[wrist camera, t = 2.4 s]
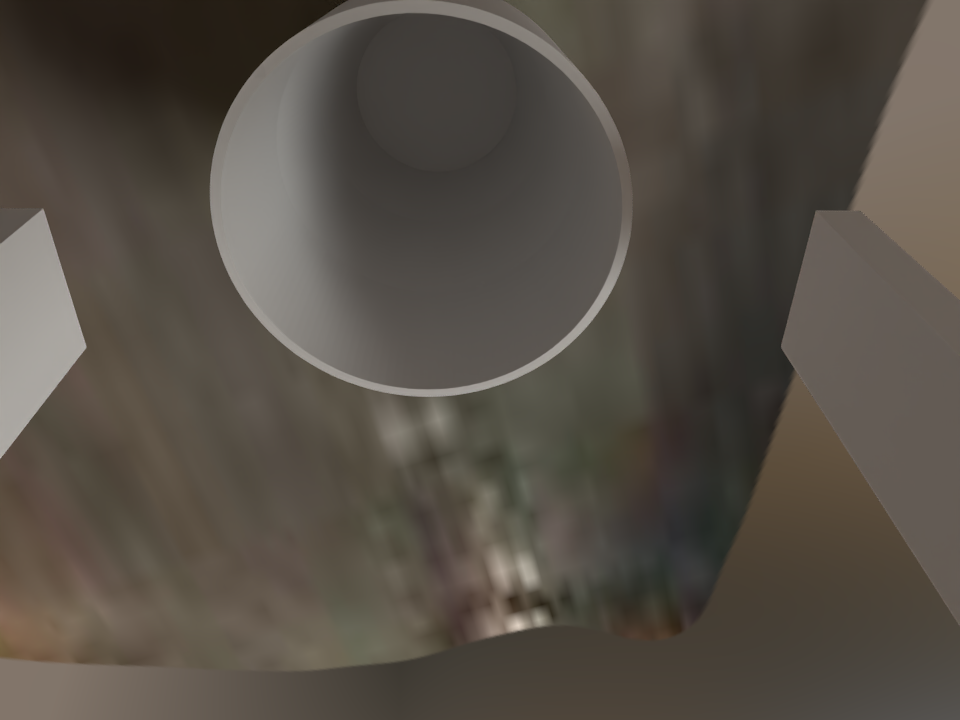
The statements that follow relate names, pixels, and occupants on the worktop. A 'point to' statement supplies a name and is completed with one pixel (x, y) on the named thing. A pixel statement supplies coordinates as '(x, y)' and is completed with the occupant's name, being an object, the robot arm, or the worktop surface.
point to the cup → (421, 195)
